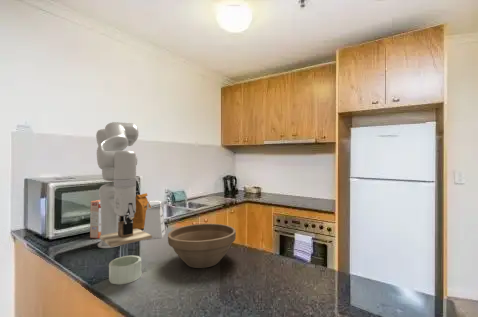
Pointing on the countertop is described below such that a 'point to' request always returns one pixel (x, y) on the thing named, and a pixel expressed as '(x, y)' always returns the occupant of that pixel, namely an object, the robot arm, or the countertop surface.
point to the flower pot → (202, 243)
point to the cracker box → (95, 219)
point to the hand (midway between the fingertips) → (125, 232)
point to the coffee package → (140, 211)
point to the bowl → (125, 269)
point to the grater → (154, 221)
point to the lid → (124, 236)
